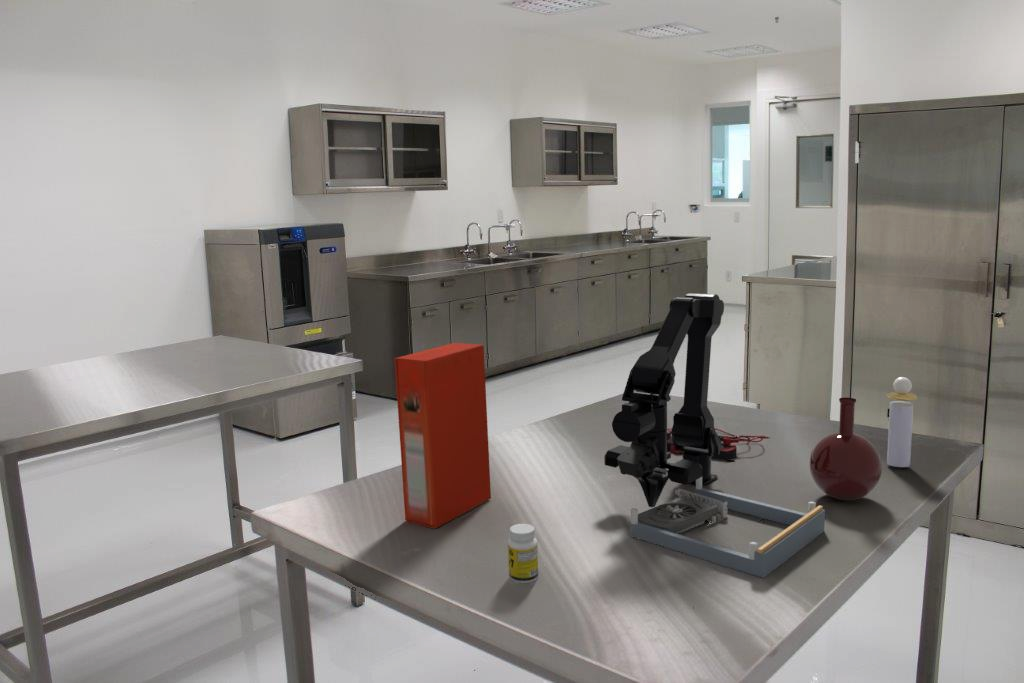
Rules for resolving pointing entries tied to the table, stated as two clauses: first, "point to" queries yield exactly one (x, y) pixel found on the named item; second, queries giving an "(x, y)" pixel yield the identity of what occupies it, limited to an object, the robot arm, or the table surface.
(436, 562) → the table surface
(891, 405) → the perfume bottle
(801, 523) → the frame
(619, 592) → the table surface
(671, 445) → the digital clamp meter
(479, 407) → the file binder
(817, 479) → the round-bottom flask
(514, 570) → the supplement bottle
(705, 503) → the graphics card
